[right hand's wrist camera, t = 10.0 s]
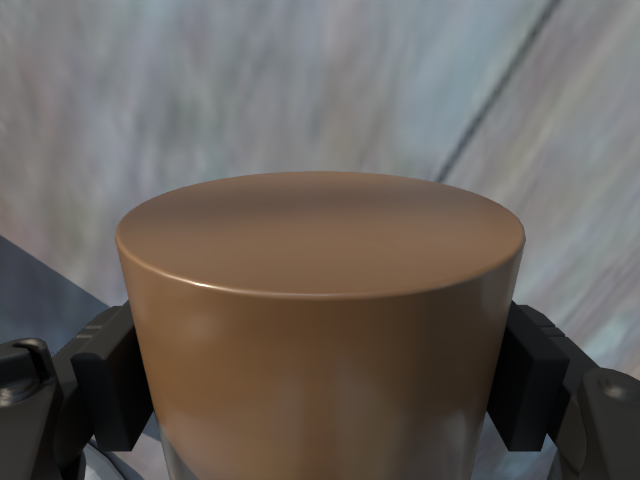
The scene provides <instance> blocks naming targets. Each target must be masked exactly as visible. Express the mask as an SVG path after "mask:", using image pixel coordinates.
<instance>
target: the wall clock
mask: <svg viewBox="0 0 640 480" xmlns="http://www.w3.org/2000/svg"><path fill="white" fill-rule="evenodd" d="M83 451H84V454H85V457H86V463H87V464H86V472H85V480H124V478H123V477H122V476H121V475H120V473H119V472H118V471H117V470H116V468H115V467H114V466H113V465H112V463H111V462H110V461H109V460H108V459H107V458H106V457H105V456H104V455H102V454H101V453H100V452H99V451H97V450H96V449H95V448H93V447H92V446H91V445H90V444H88V443H87V445H86V446H85V447H84V449H83Z"/></svg>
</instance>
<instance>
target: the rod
mask: <svg viewBox="0 0 640 480" xmlns="http://www.w3.org/2000/svg"><path fill="white" fill-rule="evenodd" d="M115 241H116V246H117V250H118V254H119V259H120V263H121V268H122V272H123V276H124V281H125V285H126V289H127V294H128V298H129V303H130V307H131V311H132V316H133V320H134V325H135V329H136V333H137V338H138V342H139V347H140V351H141V355H142V360H143V364H144V369H145V373H146V377H147V382H148V386H149V390H150V395H151V399H152V404H153V408H154V412H155V417H156V421H157V426H158V430H159V434H160V439H161V443H162V448H163V452H164V456H165V461H166V465H167V469H168V474H169V478H170V480H470V479H471V474H472V470H473V466H474V461H475V457H476V453H477V448H478V444H479V440H480V435H481V431H482V427H483V422H484V418H485V414H486V409H487V405H488V401H489V396H490V392H491V388H492V383H493V379H494V375H495V370H496V366H497V362H498V357H499V353H500V349H501V345H502V340H503V336H504V332H505V327H506V323H507V319H508V314H509V310H510V306H511V301H512V297H513V293H514V288H515V284H516V280H517V275H518V271H519V267H520V262H521V258H522V254H523V249H524V245H525V241H526V237H525V231H524V227H523V225H522V224H521V222H520V220H519V219H518V218H517V217H516V216H515V215H514V214H513V213H512V212H511V211H509V210H508V209H506V208H505V207H503V206H502V205H500V204H498V203H496V202H494V201H492V200H490V199H488V198H485V197H483V196H480V195H478V194H475V193H473V192H469V191H466V190H463V189H460V188H456V187H452V186H449V185H445V184H440V183H435V182H431V181H425V180H420V179H414V178H407V177H400V176H392V175H383V174H371V173H356V172H325V171H315V172H283V173H268V174H256V175H247V176H239V177H232V178H225V179H219V180H214V181H209V182H204V183H199V184H195V185H191V186H187V187H183V188H180V189H176V190H173V191H170V192H167V193H165V194H162V195H159V196H157V197H154V198H152V199H150V200H148V201H146V202H144V203H142V204H140V205H138V206H137V207H135V208H134V209H132V210H131V211H130V212H128V213H127V214H126V215H125V216H124V217H123V218H122V220H121V221H120V223H119V224H118V226H117V229H116V236H115Z"/></svg>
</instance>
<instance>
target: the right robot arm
mask: <svg viewBox="0 0 640 480" xmlns="http://www.w3.org/2000/svg"><path fill="white" fill-rule="evenodd" d="M486 410H487V412H488V414H489V416H490V418H491V419H492V421H493V423H494V425H495V427H496V429H497V430H498V432H499V434H500V436H501V438H502V440H503V441H504V443H505V445H506V447H507V449H508V451H541V449H542V446H543V443H544V440H545V436H546V433H547V434H548V435H549V436H550V438H551V439H552V441H553V442H554V444H555V445H556V447H557V451H556V454H555V456H554V459H553V462H552V465H551V468H550V471H549V474H548V477H547V480H555V479H556V480H640V381H639V380H637V379H635V378H633V377H631V376H629V375H628V374H625V373H622V372H619V371H616V370H613V369H607V368H601V367H599V366H598V365H597V364H596V363H595V362H594V361H593V360H592V359H591V358H590V357H588V356H587V355H586V354H585V353H584V352H583V351H582V350H581V349H580V348H579V347H578V346H577V345H576V344H575V343H574V342H573V341H571V340H570V339H569V338H568V337H565V334H564V333H563V332H562V331H561V330H560V329H559V328H556V327H555V325H554V324H553V323H552V322H551V321H550V320H549V319H548V318H547V317H546V316H545V315H544V314H542V313H540V312H539V311H537V310H535V309H533V308H531V307H530V306H528V305H517V304H516V303H515V302H514V301H513V300H512V301H511V306H510V310H509V314H508V319H507V323H506V327H505V332H504V336H503V340H502V345H501V349H500V353H499V357H498V362H497V366H496V370H495V375H494V379H493V383H492V388H491V392H490V396H489V401H488V405H487V409H486ZM153 411H154V408H153V404H152V399H151V395H150V390H149V386H148V382H147V377H146V373H145V369H144V364H143V360H142V355H141V351H140V347H139V342H138V338H137V333H136V329H135V325H134V320H133V316H132V311H131V307H130V303H129V300H128V301H127V302H126V303H125V304H124V305H123V306H113V307H111V308H109V309H108V310H106V311H104V312H102V313H101V314H99V315H97V316H96V317H95V318H94V319H93V320H92V321H91V322H90V323H89V324H88V325H86V326H85V329H82V330H81V331H80V332H79V333H78V334H77V335H76V337H75V338H73V339H72V340H71V341H70V342H68V343H67V344H66V345H65V346H64V347H63V348H62V349H61V350H60V351H59V352H58V353H57V354H56V355H55V356H54V357H53V358H51V355H50V353H49V350H48V347H47V344H46V342H45V341H43V340H41V339H38V338H25V339H18V340H13V341H10V342H7V343H3V344H0V480H85V472H86V464H87V463H86V457H85V454H84V451H83V449H84V447H85V446H86V445H87V443H88V442H89V440H90V439H91V437H92V436H93V434H94V436H95V439H96V442H97V445H98V448H99V451H132V449H133V447H134V446H135V444H136V442H137V440H138V438H139V436H140V435H141V433H142V431H143V429H144V427H145V425H146V424H147V422H148V420H149V418H150V416H151V414H152V413H153Z"/></svg>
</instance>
